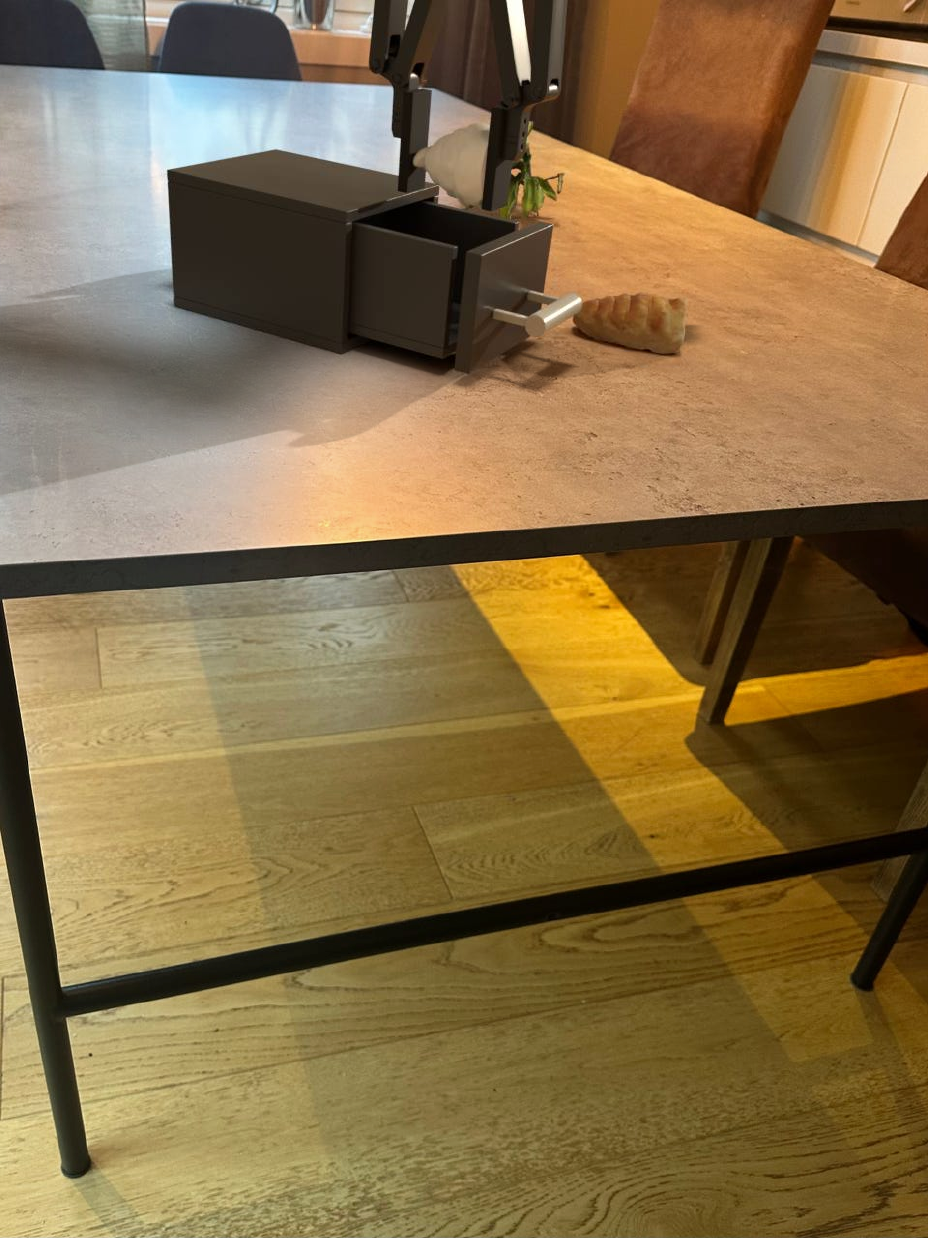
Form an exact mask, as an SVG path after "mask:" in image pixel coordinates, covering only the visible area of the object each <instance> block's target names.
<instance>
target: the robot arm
mask: <svg viewBox="0 0 928 1238" xmlns="http://www.w3.org/2000/svg"><path fill="white" fill-rule="evenodd" d="M449 2H450V0H414V1H413V4H412V7H411V10H410V13H409V16H408V15H407V14H408V6H409V0H374V3H373V13H372V22H371V23H372V24H371V34H370V43H369V44H370V45H369V54H368V55H369V56H368V68H369V70H370V72H371V73H373V74H375V75H380V76H381V77H383V78H384V79H385V80H387V81H388V82H389V83H390V84H391V87H392V92H393V93H392V111H391V112H392V113H391V128H390V129H391V134H392V137H393V138H397V139H400V144H399V160H398V161H399V162H398V176H399V177H398V191H400V192H404V193H409V192H412V191H415V190H419V189H422V188H425V182H426V176H427V172H426V171H425V170H424V169H423V167H416V166H414V165H413V158H414V156H415V155H416V153H417V152H418V151H419V150H421V149H423V148H426V147H429V135H430V121H431V110H432V109H431V108H432V94H433V89H428V88H420V86H425V84H426V83H428V82H427V81H428V79H425V78H424V77H425V74H426V72H427V71H426V70H427V69H428V65H429V62H430V59H431V56H432V53H433V51H434V47H435V43H436V40H437V39H438V34H439V31H440V29H441V26H442V23H443V20H444V17H445V14H446V11H447V8H448V5H449ZM488 3H489V4H488V5H489V12H490V18H491V24H492V31H493V39H494V46H495V53H496V59H497V66H498V72H499V79H500V85H501V92H502V100H499V101H498V104H499V105H496V106H491V111H490V120H489V125H490V130H489V140H488V150H487V160H486V170H485V180H484V190H483V199H482V207H481V210H482V211H486V212H487V211H488V212H493V211H494V212H495V211H496V210H500V208H502V207H505V206H507V205H508V196H509V187H510V179H511V174H512V171H513V169H512V161H515V160H518V159H522V157H523V155H524V153H525V151H526V141H527V134H528V126H529V121H530V116H531V111H532V109H533V108H534V106H536V105H538V104H540V103H545V102H549V101H553V100H556V99H557V98H559V96H560V95H561V91H562V77H563V63H564V53H565V52H564V51H565V40H566V39H565V38H566V24H567V12H568V10H567V9H568V0H534V11H533V12H534V13H533V26H532V27H533V29H532V44H531V45H532V46H531V57H530V51H529V50H530V49H529V42H528V35H527V29H526V20H525V13H524V12H525V11H524V4H523V0H488ZM407 16H408V20H407Z"/></svg>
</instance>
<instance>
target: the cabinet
mask: <svg viewBox="0 0 928 1238" xmlns="http://www.w3.org/2000/svg"><path fill="white" fill-rule="evenodd" d="M166 175H167V176H166V177H167V179H166V180H167V195H168V214H169V215H168V216H169V233H170V235H169V236H170V252H171V254H170V255H171V256H170V257H171V270H172V271H171V273H172V290H173V291H172V292H173V293H172V294H173V307H177V308H181V309H185V310H188V311H192V312H194V313H198V314H202V315H205V316H208V317H211V318H214V319H218V320H222V321H226V322H229V323H233V324H235V325H240V326H243V327H247V328H249V329H254V330H257V331H261V332H264V333H268V334H271V335H275V336H278V337H281V338H285V339H288V340H292V341H295V342H299V343H302V344H306V345H310V346H313V347H316V348H319V349H323V350H326V351H330V352H334V353H337V354H344V353H346V352H348V351H350V350H352V349H354V348H356V347H358V346H361V345H363V344H365V343H367V342H369V341H371V340H372V339H370V338H366V337H362V336H359V335H355V334H352V333H348V312H349V287H350V262H351V237H352V222H353V221H356V220H359V219H362V218H366V217H369V216H372V215H375V214H379V213H382V212H385V211H388V210H392V209H395V208H398V207H401V206H404V205H408V204H411V203H414V202H417V201H421V200H425V201H429V202H434V203H438V204H439V197H440V196H439V194H440V185H439V184H435V183H434V182H431V181H429V182H428V181H425V188H422V189H419V190H415V191H412V192H409V193H404V192H400V191H398V177H399V175H397V174H392V173H387V172H383V171H378V170H373V169H371V168H365V167H361V166H355V165H351V164H347V163H341V162H337V161H332V160H328V159H323V158H318V157H314V156H309V155H305V154H301V153H300V154H299V153H296V152H291V151H285V150H281V149H277V148H275V149H274V148H273V149H269V150H264V151H259V152H254V153H249V154H242V155H239V156H233V157H227V158H221V159H217V160H211V161H206V162H201V163H195V164H190V165H185V166H180V167H175V168H170V169H167V170H166Z"/></svg>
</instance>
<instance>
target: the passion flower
mask: <svg viewBox="0 0 928 1238" xmlns="http://www.w3.org/2000/svg"><path fill="white" fill-rule="evenodd" d="M533 127H534V121H533V120H531V121H530V120H529V126H528V134H527V141H526V151H525V153H524V155H523V157H522V159H518V160H515V161H512V170H519V172H517V174H516V175H515V174H513V173H511V179H510V187H509V196H508V205H507V206H505V207H502V208H499V217H501V218H505V219H510V220H512V215H513V214H514V212H515V210H516V207H517V205H518V201H519V200H518V199H519V192H520V185H521V186H523V190H522V196H521V213H520V214H521V220H525V219H526V218H528V217H529V216H530V215H531V214H532V213H534V214H536V215H537V216H536V217H540V215H539V211H540V210H541V209H542V207H543V205H544V204H545V199H546V197H547V198H549V199H551V200H552V201H555V202H557V201H558V197H557V194H558V195H560V194H561V192H562V189H563V183H564V177H565V175H566V173H565V172H563V173H562V172H560V173H557V174H556V175H553V176H550V177H547V178H544V177H542V176H541V177H540V176H535V175H532V168H531V167H532V165H531V160H532V154H531V151H530V141H529V139H530V137H529V136H530V134H531V132H532V131H533V129H534V128H533ZM555 179H557V182H558V183H557V186H556V187H557V189H556V191H555V190H554V189H553V187H552V185H551V184H550V182H549V180H555ZM464 207H465V208H466V209H468V210H470V209H473V208H475V206H471V205H469V204H468V205H467V206H464Z"/></svg>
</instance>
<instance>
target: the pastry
mask: <svg viewBox="0 0 928 1238" xmlns="http://www.w3.org/2000/svg"><path fill="white" fill-rule="evenodd" d="M687 308H688V301H687V299H686V298H682V297H680V296H679V297H676V298H669V297H665V296H661V295H659V294H655V293H648V292H638V293H635V294H630V293H622V294H619V295H612V296H611V295H606V296H604V297H603V298H593V299H588V300H585V301H583V302H582V308H581V310H580V311H579V312H578V313H577V314H576V315H574V316H572V323H573V324H574V325H575V327H577V329H579V331H581V332H582V333H584V334H586V336H587V337H588V338H593V339H594V340H596V341H604V342H608V343H610V344H612V345H614V344H616V345H621V346H624V347H626V348H631V349H634V350H639V351H643V350H650V351H651V352H652V353H656V354H665V355H666V354H678V353H679V351H680V350H681V349H682V346H683V344H684V341H685V340H684V339H685V334H686V312H687Z"/></svg>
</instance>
